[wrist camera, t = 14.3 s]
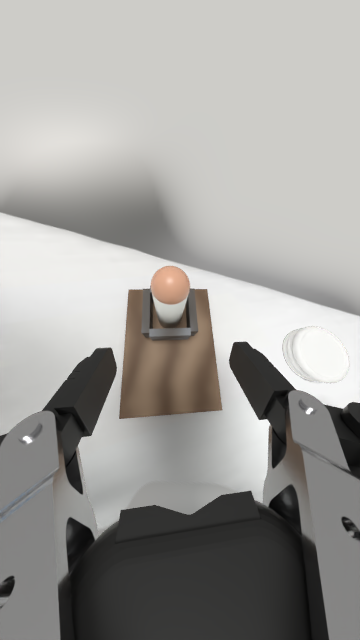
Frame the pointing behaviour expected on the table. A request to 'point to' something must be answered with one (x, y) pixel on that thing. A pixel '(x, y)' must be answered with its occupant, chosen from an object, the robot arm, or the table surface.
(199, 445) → the table surface
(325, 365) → the coaster
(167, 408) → the jig board
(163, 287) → the orange-capped post
